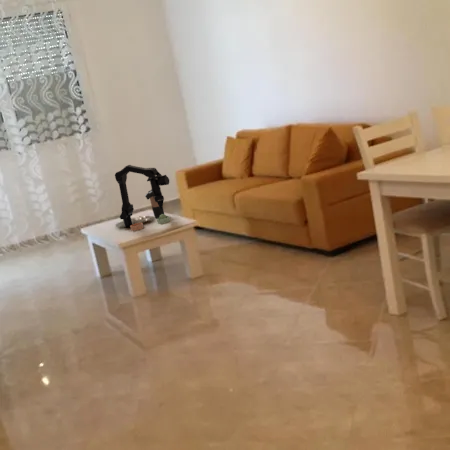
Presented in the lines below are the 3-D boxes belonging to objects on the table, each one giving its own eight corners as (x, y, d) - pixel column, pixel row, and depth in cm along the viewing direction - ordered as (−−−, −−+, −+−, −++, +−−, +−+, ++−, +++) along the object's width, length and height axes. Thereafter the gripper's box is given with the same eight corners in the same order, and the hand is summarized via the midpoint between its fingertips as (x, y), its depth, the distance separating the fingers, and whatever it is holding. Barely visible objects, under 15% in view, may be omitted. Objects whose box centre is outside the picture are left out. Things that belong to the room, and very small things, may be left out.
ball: (159, 221, 485) (157, 215, 484) (165, 219, 487) (163, 213, 486) (162, 222, 480) (160, 215, 479) (168, 220, 483) (166, 213, 482)
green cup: (156, 223, 485) (155, 219, 485) (166, 219, 489) (165, 215, 489) (161, 224, 478) (160, 219, 478) (171, 220, 483) (170, 216, 482)
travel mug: (154, 217, 505) (148, 190, 501) (164, 214, 506) (158, 188, 501) (154, 219, 498) (148, 192, 493) (165, 217, 498) (158, 190, 494)
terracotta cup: (129, 229, 483) (128, 225, 482) (139, 226, 487) (138, 222, 486) (134, 231, 476) (133, 226, 475) (145, 227, 480) (144, 223, 479)
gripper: (143, 187, 486) (148, 208, 489) (145, 191, 468) (150, 213, 471) (158, 183, 487) (163, 204, 491) (161, 187, 469) (166, 209, 473)
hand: (160, 208), depth 482 cm, fingers open, 9 cm apart
